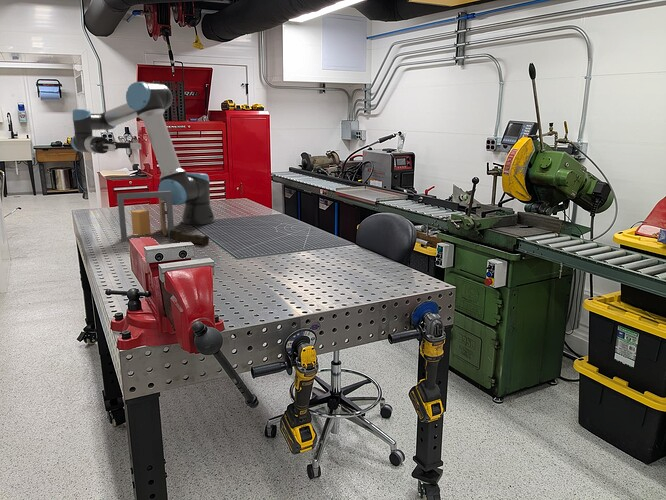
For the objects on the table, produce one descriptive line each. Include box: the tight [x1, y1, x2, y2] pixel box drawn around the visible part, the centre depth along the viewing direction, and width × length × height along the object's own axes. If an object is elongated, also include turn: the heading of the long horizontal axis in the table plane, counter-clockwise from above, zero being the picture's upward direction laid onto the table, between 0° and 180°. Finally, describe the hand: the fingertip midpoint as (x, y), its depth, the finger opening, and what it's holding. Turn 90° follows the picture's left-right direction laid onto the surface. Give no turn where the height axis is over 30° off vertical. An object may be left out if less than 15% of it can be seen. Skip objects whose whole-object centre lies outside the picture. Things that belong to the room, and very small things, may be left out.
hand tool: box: [168, 228, 210, 246], centre depth 201 cm, size 19×4×5 cm, turn 62°
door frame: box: [116, 191, 175, 242], centre depth 203 cm, size 20×2×19 cm, turn 119°
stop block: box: [130, 209, 151, 236], centre depth 211 cm, size 5×5×10 cm
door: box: [158, 197, 168, 236], centre depth 214 cm, size 14×3×14 cm, turn 23°
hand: (127, 147), depth 219 cm, fingers open, 13 cm apart
